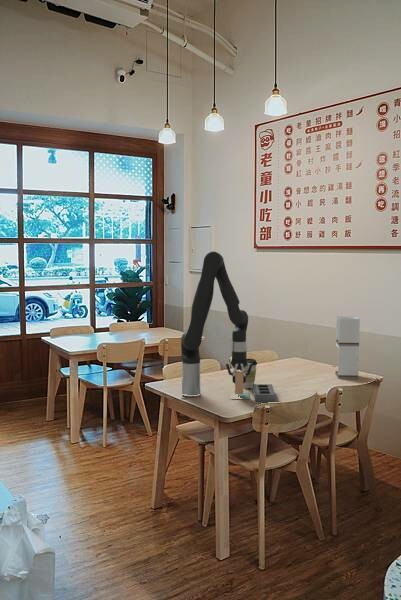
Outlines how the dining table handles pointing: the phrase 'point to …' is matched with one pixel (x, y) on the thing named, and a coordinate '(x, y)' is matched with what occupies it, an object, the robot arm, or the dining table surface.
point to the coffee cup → (251, 376)
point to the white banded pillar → (347, 346)
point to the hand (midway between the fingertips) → (239, 382)
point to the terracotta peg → (238, 382)
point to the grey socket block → (264, 393)
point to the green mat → (244, 395)
